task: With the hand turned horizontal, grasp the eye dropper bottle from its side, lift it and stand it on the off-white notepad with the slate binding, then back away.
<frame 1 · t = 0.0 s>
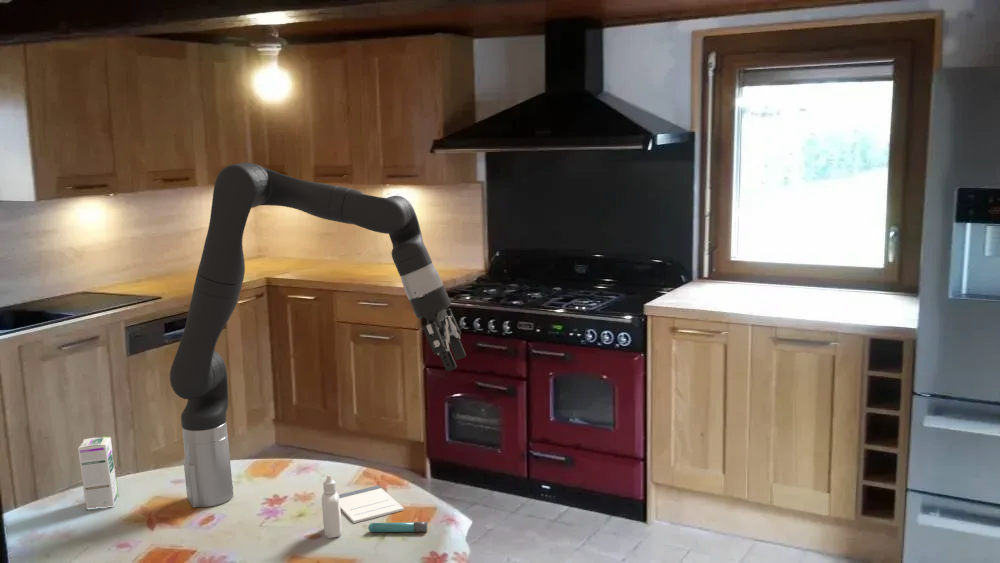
hand: (456, 363, 179), 31 cm above the table, tool tilted 20°, fingers open, 8 cm apart
eye dropper bottle: (333, 533, 177), on the table
notepad: (366, 504, 189), on the table
syrup box: (102, 505, 194), on the table
marker: (398, 531, 176), on the table
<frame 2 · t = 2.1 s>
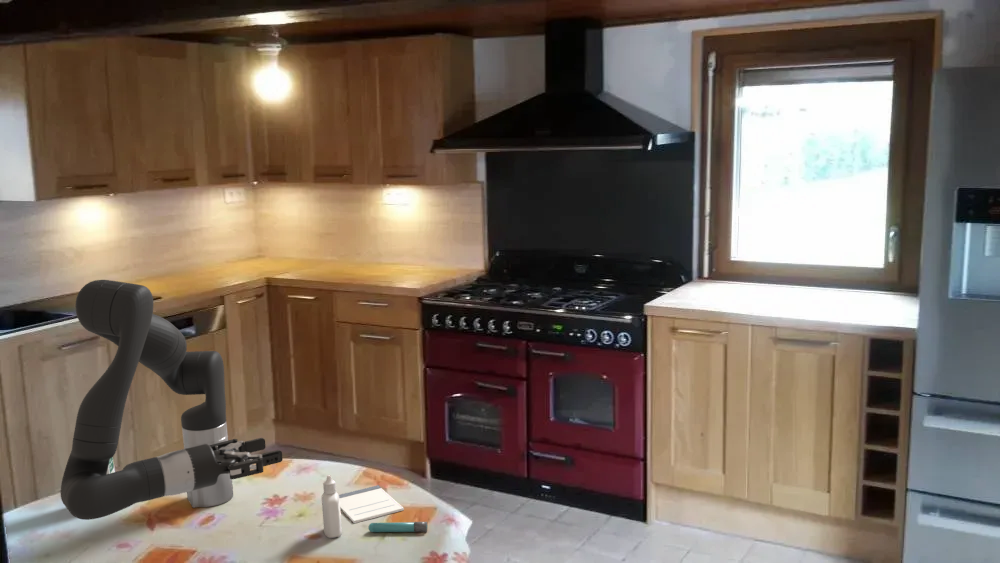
hand: (272, 449, 167), 20 cm above the table, tool horizontal, fingers open, 8 cm apart
nothing on the table moved.
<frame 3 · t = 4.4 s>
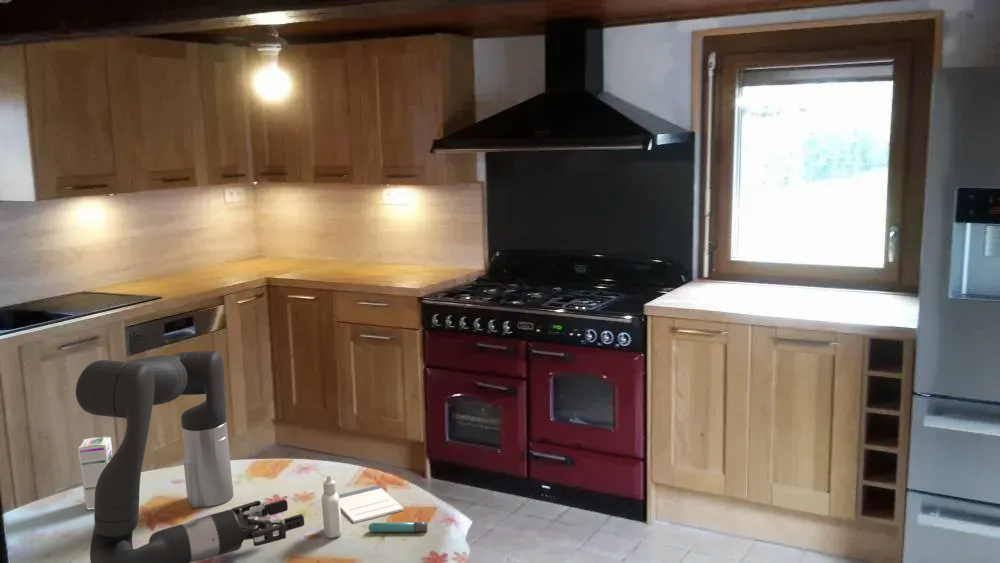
hand: (294, 511, 172), 7 cm above the table, tool horizontal, fingers open, 8 cm apart
nothing on the table moved.
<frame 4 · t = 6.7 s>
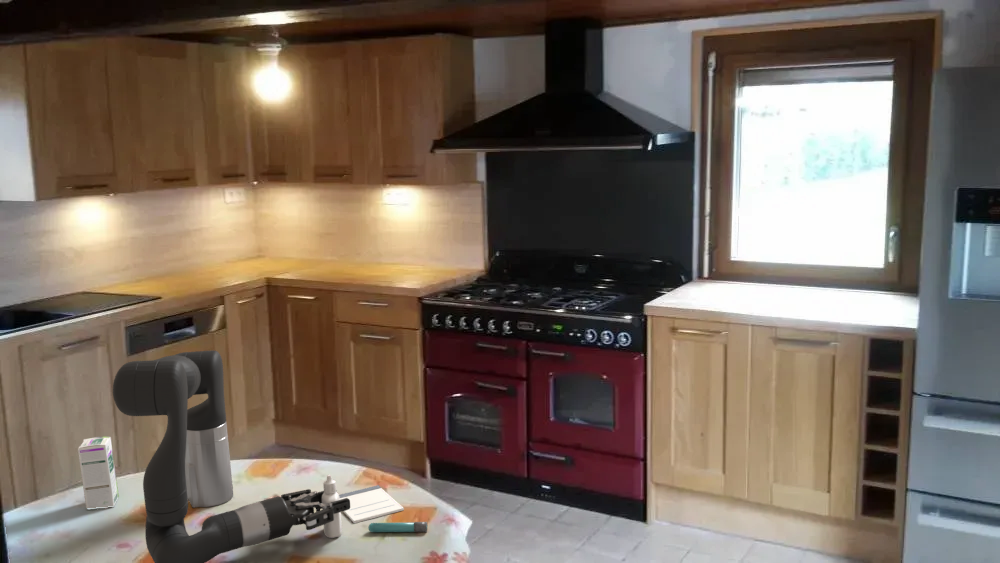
hand: (342, 498, 177), 7 cm above the table, tool horizontal, fingers closed on eye dropper bottle, 5 cm apart
eye dropper bottle: (333, 533, 177), on the table, touching gripper
everything else where it was.
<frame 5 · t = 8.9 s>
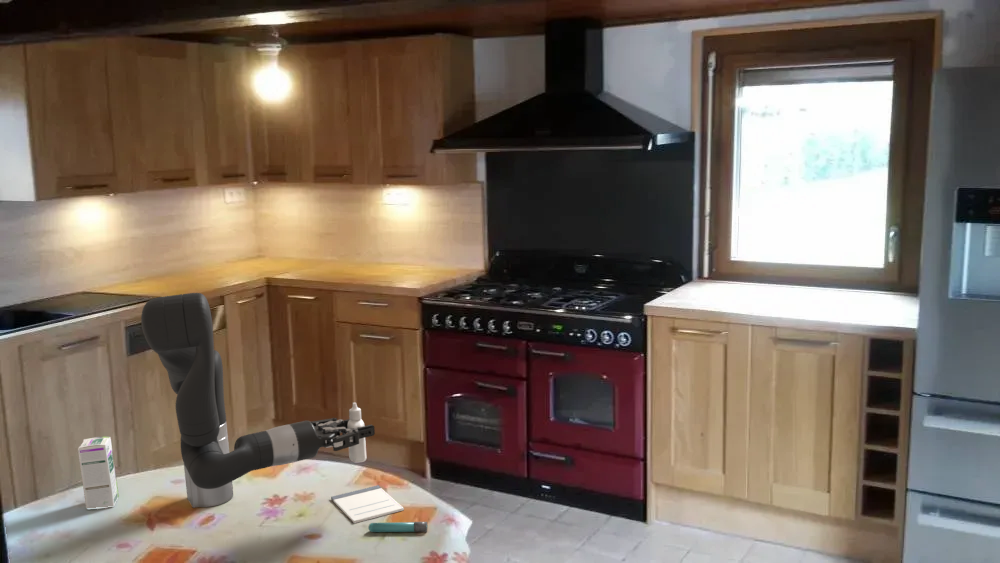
hand: (366, 425, 185), 18 cm above the table, tool horizontal, fingers closed on eye dropper bottle, 5 cm apart
eye dropper bottle: (358, 459, 185), point 11 cm above the table, touching gripper
everything else where it was.
when the fingers open (8 cm above the table, at t = 11.5 s): eye dropper bottle stays where it is, resting on notepad.
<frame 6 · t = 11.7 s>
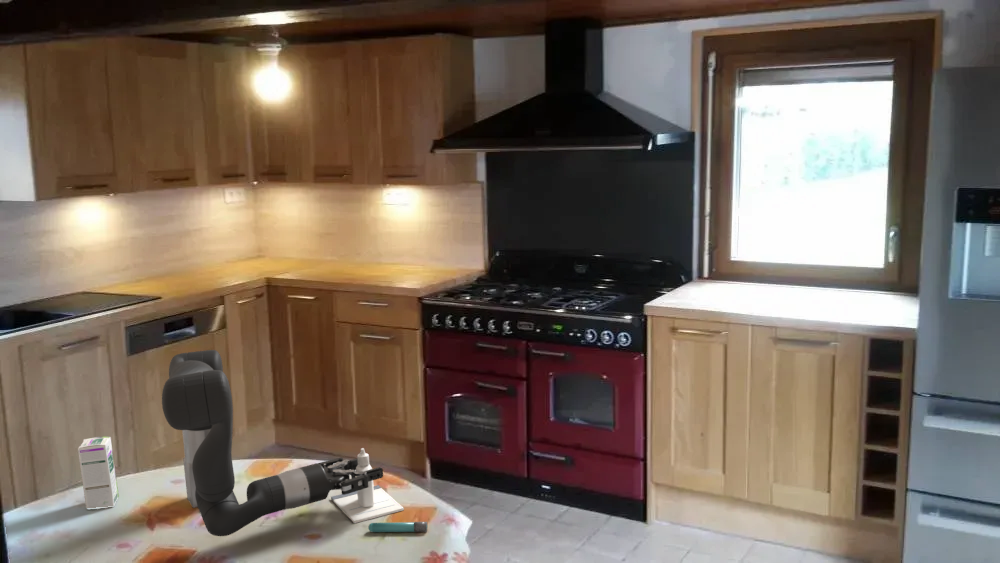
hand: (373, 466, 189), 8 cm above the table, tool horizontal, fingers open, 7 cm apart
eye dropper bottle: (366, 503, 189), resting on notepad
everything else where it was.
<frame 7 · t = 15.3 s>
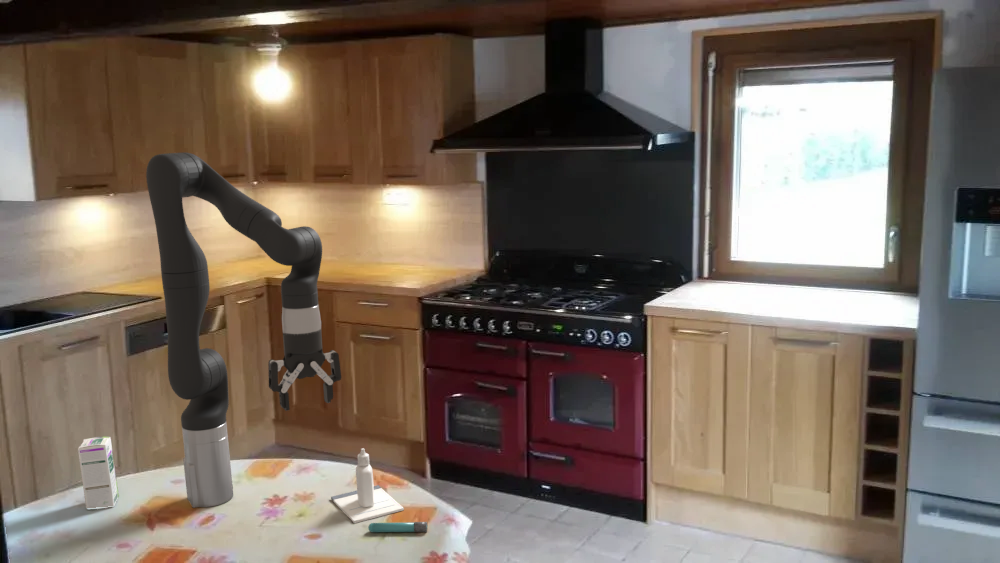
hand: (307, 405, 180), 24 cm above the table, tool pointing down, fingers open, 8 cm apart
nothing on the table moved.
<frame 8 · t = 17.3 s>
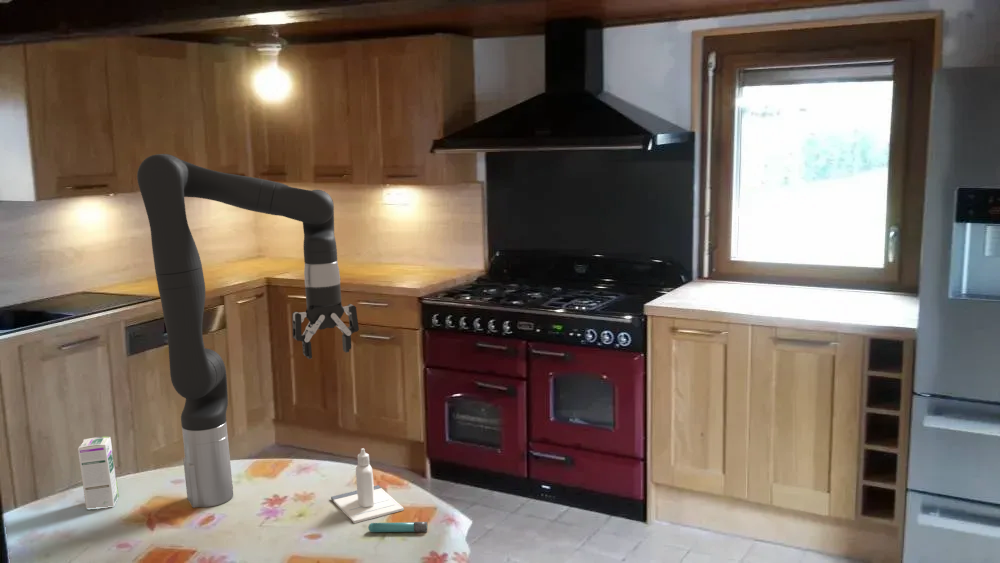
hand: (327, 354, 196), 30 cm above the table, tool pointing down, fingers open, 8 cm apart
nothing on the table moved.
at the end: eye dropper bottle inside the target area on the notepad (0.1 cm from its centre), point 0.3 cm above the notepad's base; eye dropper bottle tilted 1°; the gripper is holding nothing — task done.
